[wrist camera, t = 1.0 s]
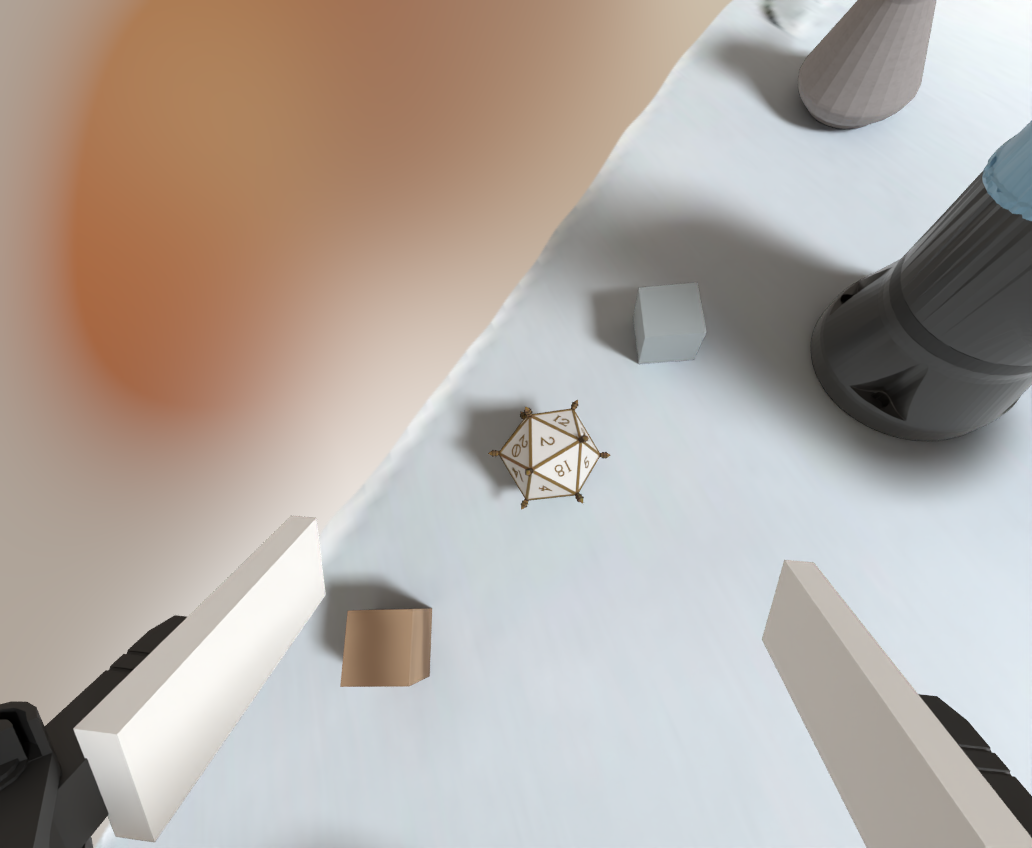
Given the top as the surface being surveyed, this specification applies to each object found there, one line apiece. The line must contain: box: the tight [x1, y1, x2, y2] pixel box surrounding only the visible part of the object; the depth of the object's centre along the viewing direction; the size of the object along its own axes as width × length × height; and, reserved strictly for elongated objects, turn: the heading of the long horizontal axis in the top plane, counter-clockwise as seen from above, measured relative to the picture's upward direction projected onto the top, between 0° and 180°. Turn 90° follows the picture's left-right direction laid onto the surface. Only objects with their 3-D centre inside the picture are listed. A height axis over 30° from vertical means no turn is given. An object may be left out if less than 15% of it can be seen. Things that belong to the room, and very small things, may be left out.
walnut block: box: [340, 608, 432, 687], centre depth 37 cm, size 5×5×5 cm
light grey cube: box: [633, 282, 707, 364], centre depth 43 cm, size 5×5×5 cm
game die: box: [488, 400, 610, 510], centre depth 39 cm, size 9×8×10 cm
